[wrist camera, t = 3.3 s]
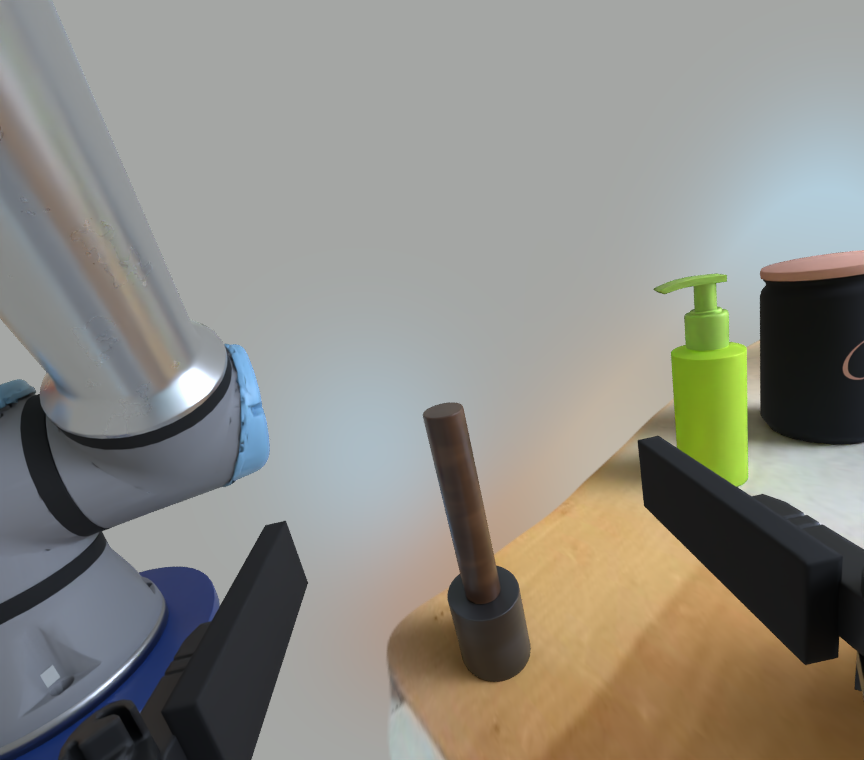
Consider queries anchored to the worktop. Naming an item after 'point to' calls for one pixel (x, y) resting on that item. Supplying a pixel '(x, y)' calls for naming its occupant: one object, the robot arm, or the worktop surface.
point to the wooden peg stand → (475, 558)
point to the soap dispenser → (710, 384)
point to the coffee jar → (814, 348)
